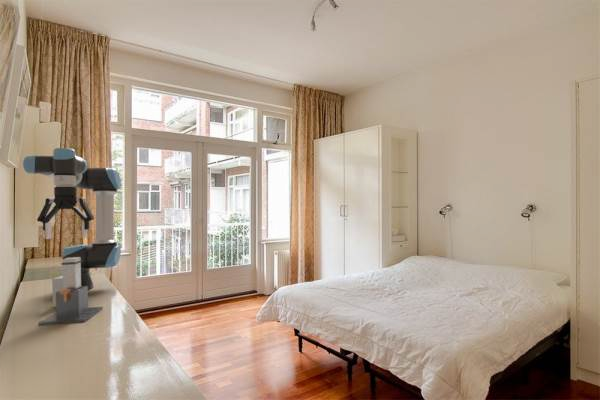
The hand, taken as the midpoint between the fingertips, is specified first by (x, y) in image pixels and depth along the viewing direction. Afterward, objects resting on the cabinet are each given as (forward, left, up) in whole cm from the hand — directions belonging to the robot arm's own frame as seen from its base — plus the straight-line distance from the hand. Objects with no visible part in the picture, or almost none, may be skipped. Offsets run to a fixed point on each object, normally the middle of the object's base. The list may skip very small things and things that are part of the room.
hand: (66, 238), depth 140 cm
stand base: (+4, +4, -31) cm, 31 cm away
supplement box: (-15, -7, -31) cm, 35 cm away
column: (+4, +4, -30) cm, 30 cm away
